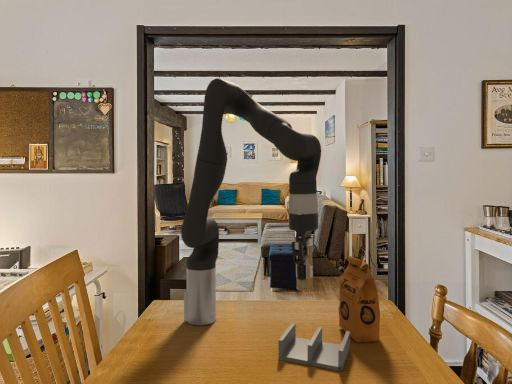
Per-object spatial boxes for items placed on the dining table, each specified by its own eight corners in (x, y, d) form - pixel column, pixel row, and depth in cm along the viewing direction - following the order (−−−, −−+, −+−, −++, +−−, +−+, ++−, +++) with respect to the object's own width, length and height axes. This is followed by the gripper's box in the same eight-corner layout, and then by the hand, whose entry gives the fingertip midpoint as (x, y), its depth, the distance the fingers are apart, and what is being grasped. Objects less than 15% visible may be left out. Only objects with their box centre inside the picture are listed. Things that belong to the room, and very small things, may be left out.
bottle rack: (278, 359, 96) (278, 340, 96) (292, 340, 107) (292, 322, 107) (342, 371, 90) (342, 351, 90) (349, 349, 101) (350, 331, 101)
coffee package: (351, 345, 104) (352, 265, 103) (335, 327, 117) (335, 255, 116) (385, 342, 106) (386, 264, 105) (365, 325, 118) (367, 254, 117)
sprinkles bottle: (317, 289, 98) (316, 237, 98) (303, 293, 96) (302, 239, 95) (305, 285, 102) (304, 235, 102) (292, 288, 100) (291, 237, 99)
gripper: (296, 208, 106) (298, 269, 107) (280, 213, 93) (282, 283, 94) (323, 209, 103) (324, 271, 104) (310, 214, 90) (312, 285, 91)
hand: (304, 276), depth 99 cm, fingers closed on sprinkles bottle, 4 cm apart
